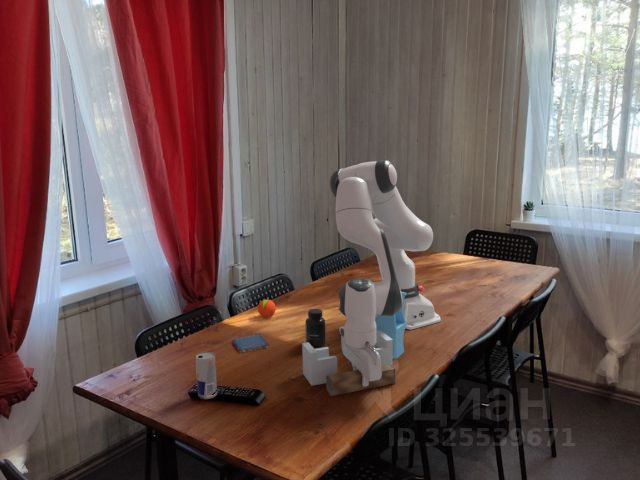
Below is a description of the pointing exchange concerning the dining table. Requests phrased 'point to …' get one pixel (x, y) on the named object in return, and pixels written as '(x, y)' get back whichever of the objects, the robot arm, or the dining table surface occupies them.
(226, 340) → the dining table surface
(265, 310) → the clementine
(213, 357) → the energy drink
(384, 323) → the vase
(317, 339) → the supplement bottle
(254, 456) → the dining table surface
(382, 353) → the post
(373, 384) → the rail
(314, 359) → the post
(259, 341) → the woven mat
